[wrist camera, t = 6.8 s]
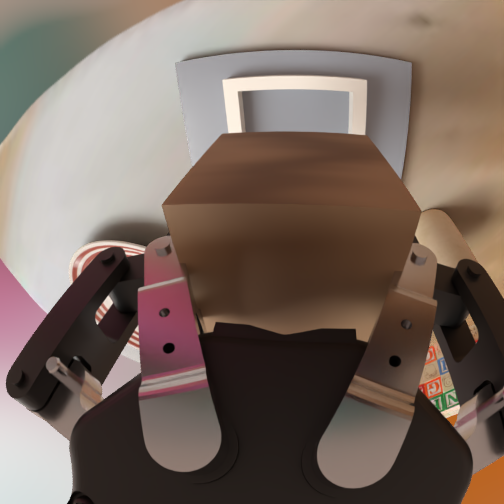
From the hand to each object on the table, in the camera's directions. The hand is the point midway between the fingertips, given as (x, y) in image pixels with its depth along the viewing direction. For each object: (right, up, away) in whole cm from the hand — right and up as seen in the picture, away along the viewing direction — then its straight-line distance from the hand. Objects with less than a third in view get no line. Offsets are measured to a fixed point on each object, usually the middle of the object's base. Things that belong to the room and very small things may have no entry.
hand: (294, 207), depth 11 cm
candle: (+16, 0, +13) cm, 21 cm away
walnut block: (0, +1, +1) cm, 1 cm away
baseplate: (+2, +8, +9) cm, 12 cm away
